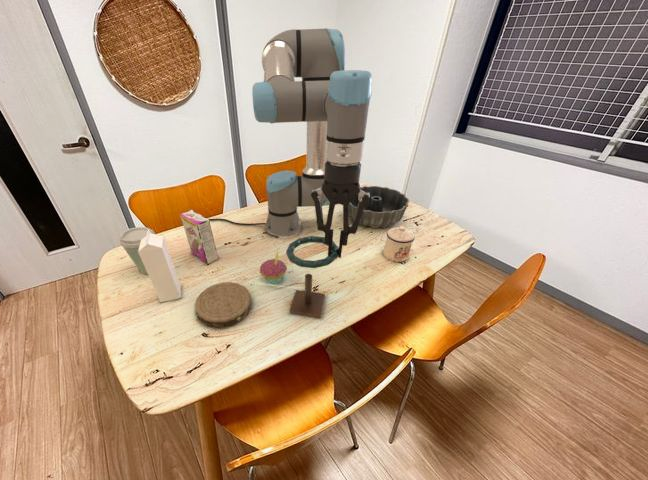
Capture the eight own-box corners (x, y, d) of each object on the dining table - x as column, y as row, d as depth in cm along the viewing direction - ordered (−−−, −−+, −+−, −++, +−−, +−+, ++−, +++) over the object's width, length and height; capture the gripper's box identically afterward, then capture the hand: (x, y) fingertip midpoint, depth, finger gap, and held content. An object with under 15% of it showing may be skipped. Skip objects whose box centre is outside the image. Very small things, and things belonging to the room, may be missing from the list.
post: (289, 313, 80) (288, 284, 73) (296, 292, 87) (295, 264, 80) (320, 318, 78) (322, 289, 71) (324, 296, 85) (327, 267, 78)
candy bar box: (190, 253, 105) (178, 214, 95) (202, 247, 107) (191, 209, 97) (207, 265, 99) (196, 224, 88) (219, 259, 101) (210, 219, 91)
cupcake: (291, 275, 93) (290, 245, 86) (279, 291, 87) (277, 260, 80) (268, 269, 96) (266, 240, 89) (256, 284, 90) (252, 254, 83)
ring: (281, 266, 70) (280, 260, 69) (293, 239, 80) (293, 233, 79) (335, 271, 67) (335, 265, 66) (341, 242, 77) (341, 236, 76)
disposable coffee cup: (159, 256, 103) (145, 220, 94) (172, 269, 97) (159, 232, 88) (129, 269, 97) (112, 232, 88) (141, 283, 91) (124, 245, 82)
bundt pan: (373, 241, 109) (378, 218, 103) (330, 215, 126) (332, 194, 120) (416, 222, 120) (423, 200, 114) (372, 201, 138) (375, 181, 132)
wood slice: (186, 309, 82) (183, 302, 80) (229, 282, 91) (227, 275, 89) (218, 338, 73) (216, 331, 71) (262, 305, 82) (261, 298, 81)
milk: (160, 302, 84) (132, 241, 71) (161, 289, 89) (135, 230, 75) (181, 298, 85) (157, 237, 72) (181, 285, 90) (159, 226, 76)
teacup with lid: (394, 265, 96) (402, 237, 89) (377, 252, 103) (382, 224, 96) (419, 256, 101) (428, 228, 93) (401, 244, 107) (408, 216, 100)
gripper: (304, 165, 56) (303, 259, 70) (380, 169, 53) (363, 266, 68) (310, 154, 62) (308, 243, 76) (379, 157, 59) (364, 249, 74)
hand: (334, 254), depth 72 cm, fingers closed on ring, 2 cm apart
